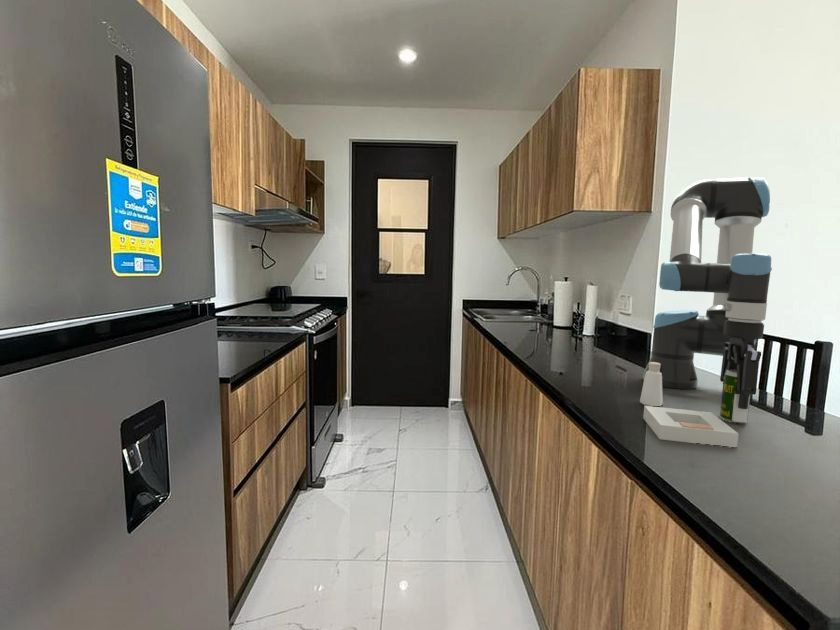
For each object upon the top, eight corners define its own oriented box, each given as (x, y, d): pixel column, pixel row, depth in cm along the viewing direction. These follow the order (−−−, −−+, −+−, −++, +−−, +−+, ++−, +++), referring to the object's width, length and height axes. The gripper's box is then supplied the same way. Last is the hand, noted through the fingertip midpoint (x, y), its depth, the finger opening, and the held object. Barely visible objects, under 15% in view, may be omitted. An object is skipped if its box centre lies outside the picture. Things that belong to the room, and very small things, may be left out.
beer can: (736, 417, 109) (741, 369, 107) (752, 424, 103) (758, 374, 102) (714, 416, 109) (719, 368, 107) (729, 423, 103) (735, 373, 102)
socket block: (643, 418, 105) (644, 404, 105) (709, 425, 102) (711, 411, 101) (659, 439, 92) (660, 424, 91) (736, 448, 88) (738, 432, 88)
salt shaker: (663, 408, 114) (667, 365, 113) (640, 405, 116) (644, 363, 115) (661, 402, 119) (665, 362, 118) (638, 399, 121) (642, 359, 120)
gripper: (710, 316, 113) (701, 404, 116) (744, 323, 96) (732, 428, 98) (744, 317, 112) (734, 407, 114) (784, 326, 94) (771, 432, 96)
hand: (733, 417), depth 106 cm, fingers closed on beer can, 5 cm apart
